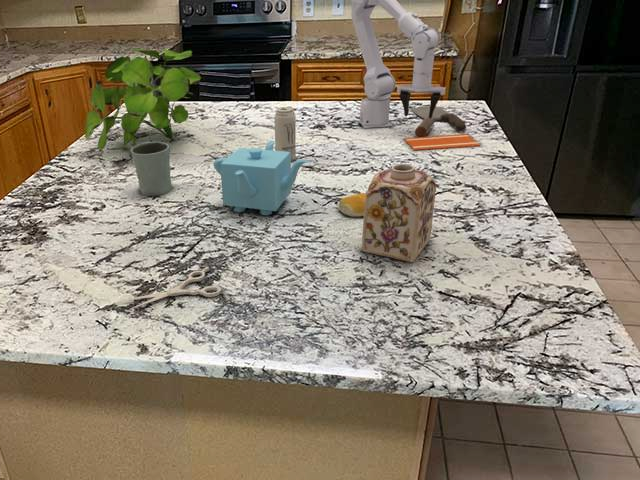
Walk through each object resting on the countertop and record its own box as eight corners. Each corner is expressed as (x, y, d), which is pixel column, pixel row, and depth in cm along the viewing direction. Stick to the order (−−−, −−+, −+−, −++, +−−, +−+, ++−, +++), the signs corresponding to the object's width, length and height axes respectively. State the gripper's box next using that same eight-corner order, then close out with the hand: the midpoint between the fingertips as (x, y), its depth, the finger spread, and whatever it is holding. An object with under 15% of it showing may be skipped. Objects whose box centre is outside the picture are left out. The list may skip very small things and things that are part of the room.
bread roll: (383, 210, 148) (384, 195, 146) (355, 220, 144) (356, 204, 142) (359, 200, 154) (360, 185, 151) (332, 209, 150) (333, 194, 148)
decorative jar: (413, 264, 125) (422, 181, 115) (360, 252, 130) (364, 172, 121) (431, 240, 133) (441, 161, 123) (380, 230, 138) (386, 153, 129)
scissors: (229, 288, 119) (131, 317, 112) (229, 292, 119) (132, 320, 112) (207, 266, 127) (115, 291, 120) (208, 269, 127) (116, 295, 120)
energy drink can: (285, 164, 178) (284, 113, 170) (271, 160, 182) (270, 109, 174) (299, 159, 182) (299, 108, 174) (285, 155, 186) (284, 105, 178)
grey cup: (180, 185, 169) (175, 143, 162) (161, 199, 161) (156, 155, 155) (149, 181, 173) (143, 140, 166) (129, 194, 165) (123, 151, 159)
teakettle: (211, 200, 159) (206, 145, 151) (275, 186, 164) (274, 132, 157) (240, 228, 144) (236, 168, 136) (310, 211, 150) (310, 153, 142)
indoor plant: (217, 140, 179) (158, 49, 163) (109, 199, 195) (45, 121, 179) (231, 85, 212) (182, 5, 197) (137, 139, 228) (86, 69, 213)
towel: (414, 150, 183) (414, 149, 182) (404, 139, 192) (404, 138, 192) (480, 146, 183) (480, 144, 183) (466, 135, 192) (466, 133, 192)
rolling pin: (415, 138, 193) (427, 136, 191) (413, 127, 192) (425, 125, 190) (423, 128, 201) (434, 126, 200) (421, 118, 200) (433, 116, 198)
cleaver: (472, 130, 195) (473, 123, 194) (443, 133, 194) (444, 126, 193) (434, 108, 220) (434, 102, 219) (408, 110, 219) (408, 104, 218)
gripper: (396, 73, 188) (392, 118, 195) (444, 76, 182) (438, 121, 189) (401, 69, 193) (398, 112, 200) (448, 71, 187) (443, 115, 194)
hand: (418, 116), depth 195 cm, fingers open, 7 cm apart
